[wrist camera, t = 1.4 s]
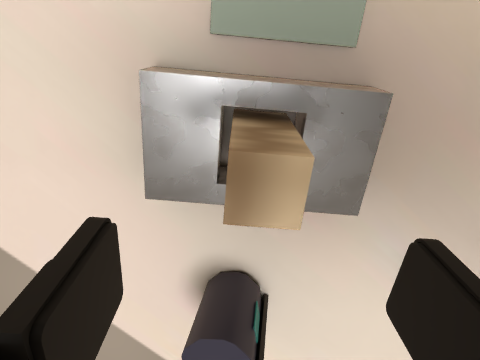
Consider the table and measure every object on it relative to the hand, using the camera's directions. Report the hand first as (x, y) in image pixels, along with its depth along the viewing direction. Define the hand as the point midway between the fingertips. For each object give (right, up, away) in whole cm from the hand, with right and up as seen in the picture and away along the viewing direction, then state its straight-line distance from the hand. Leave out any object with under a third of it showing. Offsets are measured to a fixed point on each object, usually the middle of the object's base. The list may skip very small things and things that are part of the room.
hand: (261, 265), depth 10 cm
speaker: (-2, -9, +21) cm, 23 cm away
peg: (+1, +6, +14) cm, 15 cm away
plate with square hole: (+1, +6, +14) cm, 15 cm away
